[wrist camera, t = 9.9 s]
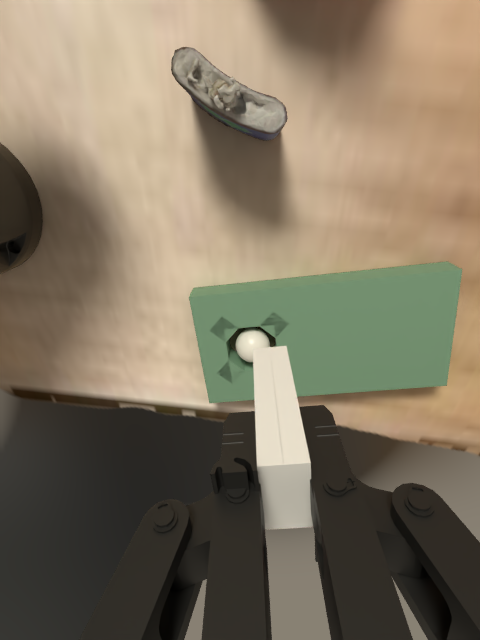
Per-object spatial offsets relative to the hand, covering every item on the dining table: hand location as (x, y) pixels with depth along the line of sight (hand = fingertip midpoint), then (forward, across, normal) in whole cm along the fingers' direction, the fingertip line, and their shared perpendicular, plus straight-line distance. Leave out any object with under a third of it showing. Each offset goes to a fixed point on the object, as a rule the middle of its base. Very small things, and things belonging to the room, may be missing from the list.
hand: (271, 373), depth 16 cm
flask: (+25, -1, +13) cm, 28 cm away
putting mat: (+24, +6, -11) cm, 28 cm away
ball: (+23, -2, -11) cm, 25 cm away
